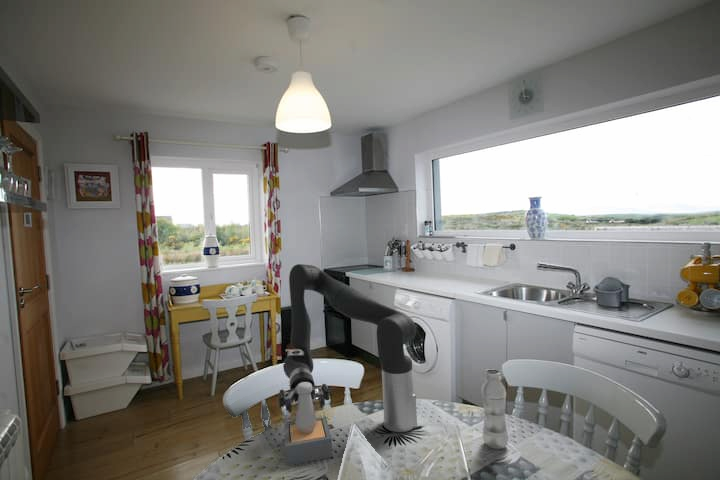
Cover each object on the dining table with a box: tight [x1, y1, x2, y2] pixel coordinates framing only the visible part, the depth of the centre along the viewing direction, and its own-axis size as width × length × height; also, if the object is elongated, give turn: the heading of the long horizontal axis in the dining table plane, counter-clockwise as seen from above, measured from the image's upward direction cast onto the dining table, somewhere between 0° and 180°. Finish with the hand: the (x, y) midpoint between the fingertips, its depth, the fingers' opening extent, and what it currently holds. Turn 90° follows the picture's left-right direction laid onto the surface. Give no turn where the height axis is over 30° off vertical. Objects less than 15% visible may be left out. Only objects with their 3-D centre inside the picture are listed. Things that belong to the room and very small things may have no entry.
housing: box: [283, 416, 333, 466], centre depth 102 cm, size 12×12×5 cm
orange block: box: [290, 420, 325, 443], centre depth 102 cm, size 9×9×4 cm
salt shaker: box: [294, 382, 317, 434], centre depth 102 cm, size 6×6×13 cm
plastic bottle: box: [480, 368, 509, 450], centre depth 99 cm, size 6×7×20 cm
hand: (305, 406), depth 101 cm, fingers open, 8 cm apart
